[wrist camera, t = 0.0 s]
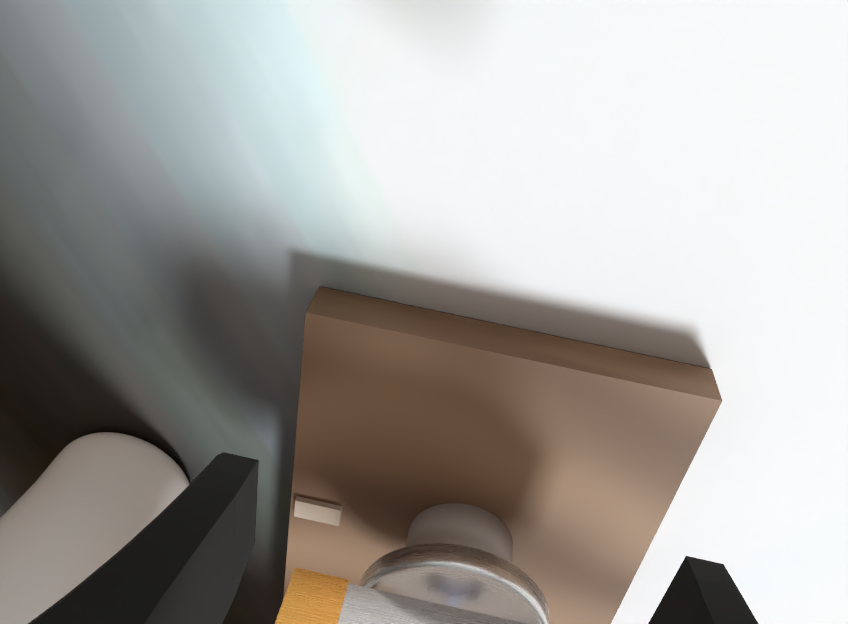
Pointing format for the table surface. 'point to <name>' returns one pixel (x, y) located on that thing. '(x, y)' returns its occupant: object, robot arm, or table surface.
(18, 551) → the drinking glass
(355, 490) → the mount plate
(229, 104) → the table surface
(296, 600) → the grey and orange block
